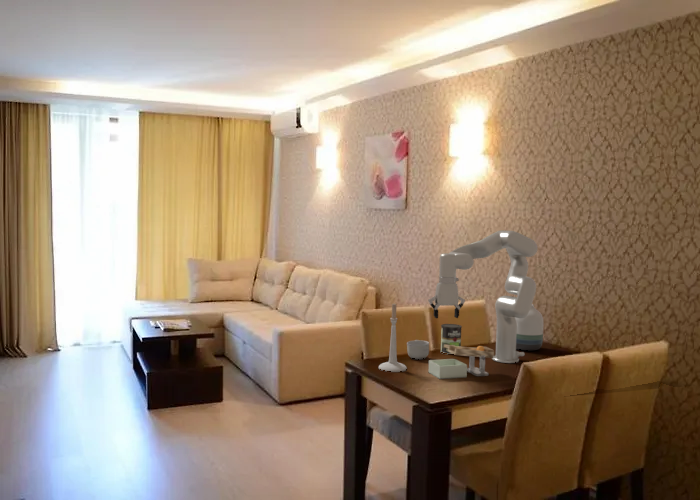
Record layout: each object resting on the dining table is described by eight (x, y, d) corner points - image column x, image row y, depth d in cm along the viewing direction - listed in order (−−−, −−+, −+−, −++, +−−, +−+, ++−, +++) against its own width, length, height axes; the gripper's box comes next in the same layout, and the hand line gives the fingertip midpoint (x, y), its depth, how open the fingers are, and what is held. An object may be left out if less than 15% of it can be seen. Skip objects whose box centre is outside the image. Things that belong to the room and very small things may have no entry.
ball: (480, 353, 265) (482, 345, 265) (484, 355, 262) (486, 347, 262) (474, 351, 264) (476, 344, 264) (478, 353, 261) (480, 345, 261)
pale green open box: (454, 370, 266) (455, 358, 266) (466, 377, 255) (467, 364, 255) (428, 372, 262) (428, 360, 262) (439, 379, 252) (439, 366, 251)
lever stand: (476, 369, 269) (476, 349, 269) (489, 375, 259) (489, 355, 258) (464, 370, 268) (465, 350, 267) (477, 376, 257) (477, 356, 256)
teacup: (427, 361, 282) (428, 345, 282) (405, 360, 285) (405, 343, 284) (429, 355, 296) (430, 339, 296) (408, 353, 298) (408, 338, 298)
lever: (476, 350, 275) (477, 343, 275) (493, 357, 261) (494, 350, 261) (439, 347, 270) (440, 339, 270) (455, 354, 255) (456, 346, 255)
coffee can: (464, 354, 298) (465, 327, 298) (445, 355, 296) (446, 327, 295) (455, 350, 308) (456, 323, 308) (437, 350, 306) (438, 323, 305)
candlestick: (411, 371, 264) (412, 304, 262) (384, 372, 260) (385, 305, 259) (400, 364, 276) (402, 300, 274) (374, 365, 272) (376, 301, 271)
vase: (504, 345, 322) (506, 302, 321) (534, 345, 324) (535, 302, 323) (516, 352, 305) (518, 306, 304) (547, 352, 307) (549, 306, 306)
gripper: (462, 279, 273) (461, 316, 274) (426, 279, 270) (425, 316, 271) (468, 281, 266) (467, 319, 267) (431, 281, 263) (430, 319, 264)
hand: (446, 317), depth 269 cm, fingers open, 9 cm apart
